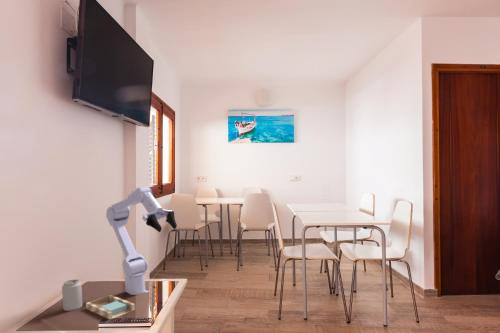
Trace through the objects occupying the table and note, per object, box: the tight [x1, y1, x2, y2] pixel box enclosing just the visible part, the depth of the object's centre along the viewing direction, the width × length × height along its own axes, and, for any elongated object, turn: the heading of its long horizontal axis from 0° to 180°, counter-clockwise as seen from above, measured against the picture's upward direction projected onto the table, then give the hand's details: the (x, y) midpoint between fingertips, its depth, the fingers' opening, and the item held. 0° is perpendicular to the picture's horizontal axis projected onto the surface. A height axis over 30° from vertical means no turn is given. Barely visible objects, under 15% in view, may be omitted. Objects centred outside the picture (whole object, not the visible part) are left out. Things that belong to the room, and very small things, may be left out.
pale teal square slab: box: [101, 301, 127, 315], centre depth 146 cm, size 8×7×2 cm
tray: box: [85, 294, 136, 320], centre depth 148 cm, size 20×11×3 cm, turn 49°
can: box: [61, 278, 84, 311], centre depth 153 cm, size 8×8×12 cm
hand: (168, 228), depth 149 cm, fingers open, 7 cm apart
